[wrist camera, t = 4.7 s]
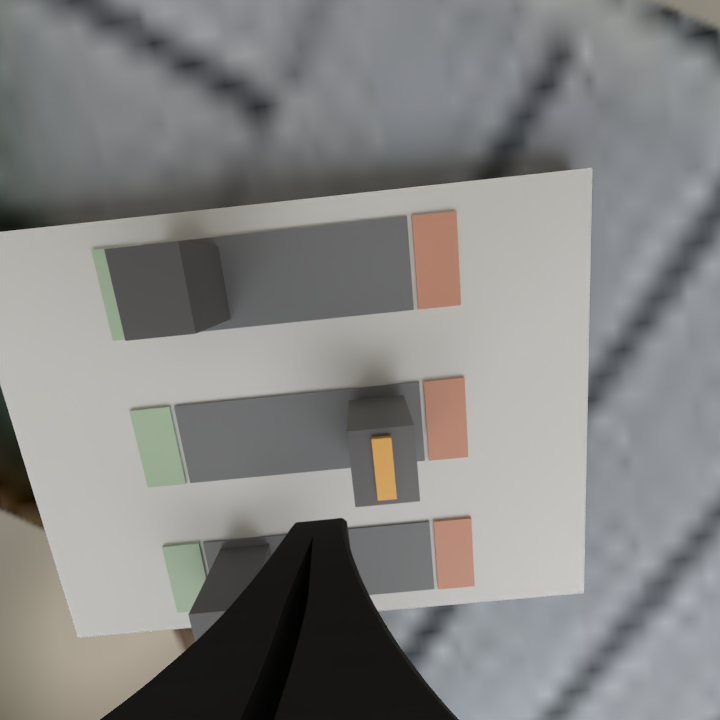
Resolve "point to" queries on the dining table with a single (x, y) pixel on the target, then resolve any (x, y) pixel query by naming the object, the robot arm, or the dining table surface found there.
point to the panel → (304, 393)
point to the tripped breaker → (382, 451)
